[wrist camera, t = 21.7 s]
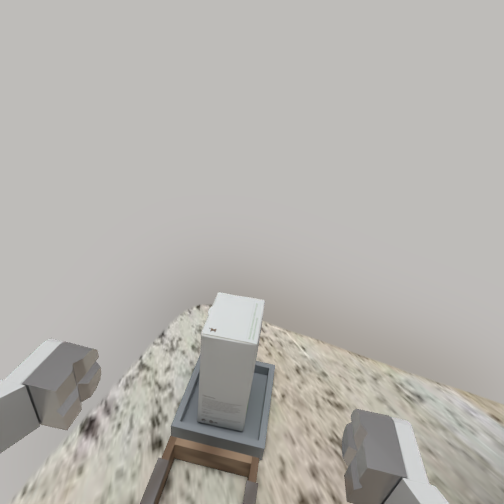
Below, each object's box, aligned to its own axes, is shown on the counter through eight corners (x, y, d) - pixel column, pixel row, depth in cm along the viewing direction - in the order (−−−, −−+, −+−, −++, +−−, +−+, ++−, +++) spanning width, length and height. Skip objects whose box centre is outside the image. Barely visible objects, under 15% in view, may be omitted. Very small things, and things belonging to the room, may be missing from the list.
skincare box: (242, 434, 40) (259, 348, 32) (192, 422, 40) (197, 335, 32) (252, 379, 47) (267, 298, 39) (210, 370, 47) (217, 289, 40)
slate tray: (272, 375, 49) (275, 365, 48) (261, 459, 38) (264, 448, 37) (201, 359, 50) (202, 348, 49) (171, 437, 39) (171, 425, 38)
